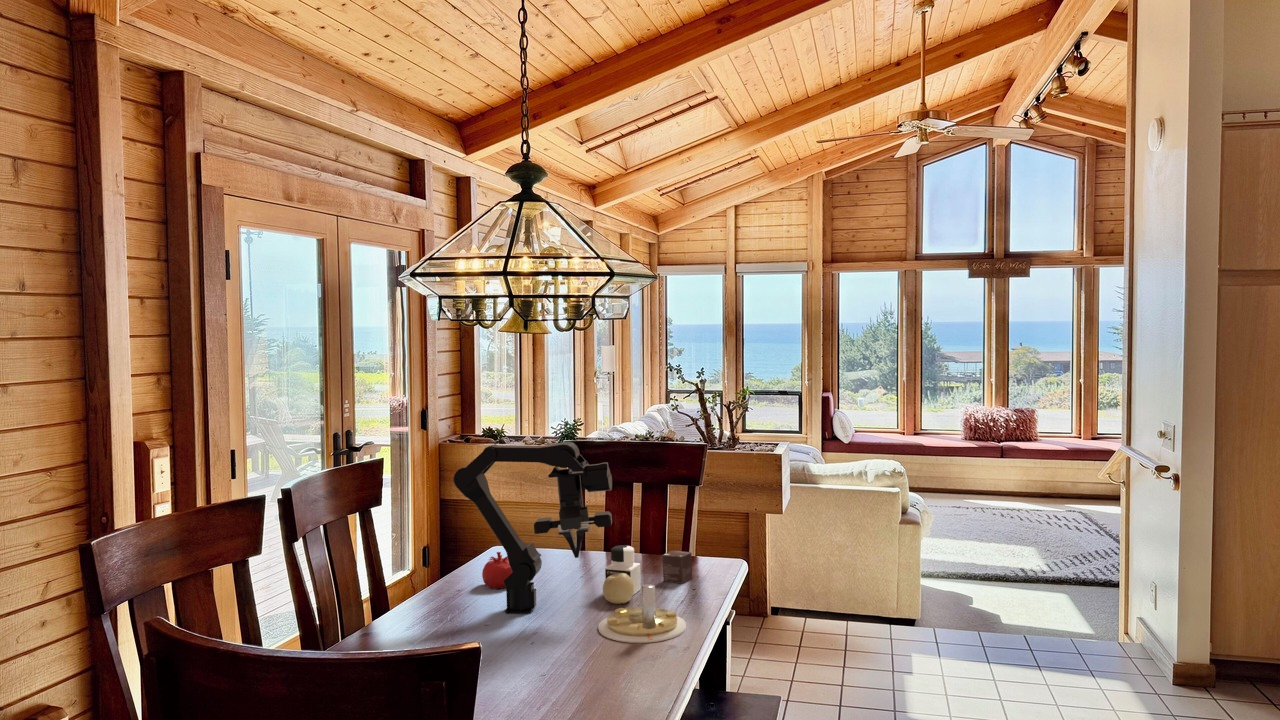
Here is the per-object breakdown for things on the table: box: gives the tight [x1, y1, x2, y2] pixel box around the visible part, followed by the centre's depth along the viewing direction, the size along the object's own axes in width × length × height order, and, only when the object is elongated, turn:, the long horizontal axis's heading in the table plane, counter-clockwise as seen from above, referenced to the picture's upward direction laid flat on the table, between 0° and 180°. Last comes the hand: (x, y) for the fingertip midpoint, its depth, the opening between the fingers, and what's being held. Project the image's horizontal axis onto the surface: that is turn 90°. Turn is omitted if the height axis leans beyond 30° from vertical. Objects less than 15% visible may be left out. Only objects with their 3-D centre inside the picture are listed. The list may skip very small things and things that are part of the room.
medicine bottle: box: [604, 544, 642, 596], centre depth 221 cm, size 7×7×12 cm
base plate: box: [598, 615, 687, 644], centre depth 193 cm, size 20×20×1 cm
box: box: [662, 549, 693, 584], centre depth 232 cm, size 6×6×7 cm
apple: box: [602, 573, 634, 605], centre depth 213 cm, size 8×8×8 cm
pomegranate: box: [481, 551, 512, 589], centre depth 230 cm, size 10×10×9 cm
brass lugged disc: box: [606, 584, 677, 636], centre depth 193 cm, size 16×16×10 cm
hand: (576, 557), depth 206 cm, fingers closed
